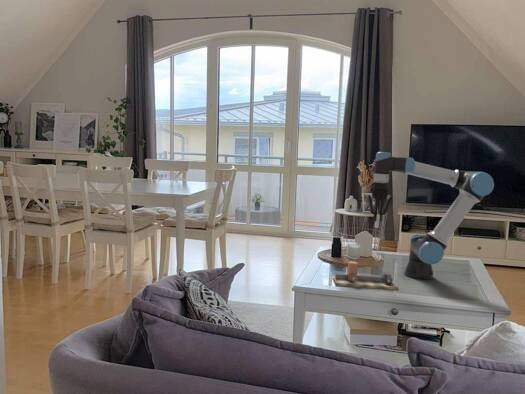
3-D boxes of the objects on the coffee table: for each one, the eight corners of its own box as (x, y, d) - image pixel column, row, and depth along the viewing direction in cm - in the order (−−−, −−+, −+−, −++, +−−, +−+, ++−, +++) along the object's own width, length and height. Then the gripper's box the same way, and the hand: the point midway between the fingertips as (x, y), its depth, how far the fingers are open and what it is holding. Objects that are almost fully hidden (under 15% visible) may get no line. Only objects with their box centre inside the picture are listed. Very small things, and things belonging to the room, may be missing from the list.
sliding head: (354, 278, 243) (356, 261, 242) (357, 282, 235) (359, 265, 234) (346, 277, 243) (348, 261, 242) (349, 281, 235) (350, 264, 234)
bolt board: (391, 283, 244) (392, 280, 244) (398, 289, 232) (398, 287, 232) (332, 278, 244) (332, 276, 244) (335, 285, 232) (335, 282, 232)
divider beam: (390, 284, 242) (391, 273, 242) (394, 288, 235) (395, 276, 234) (334, 279, 242) (335, 269, 242) (336, 283, 235) (337, 272, 235)
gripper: (391, 182, 252) (387, 227, 254) (366, 180, 252) (362, 225, 254) (395, 183, 245) (391, 229, 247) (369, 181, 245) (365, 227, 247)
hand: (376, 227), depth 251 cm, fingers closed
